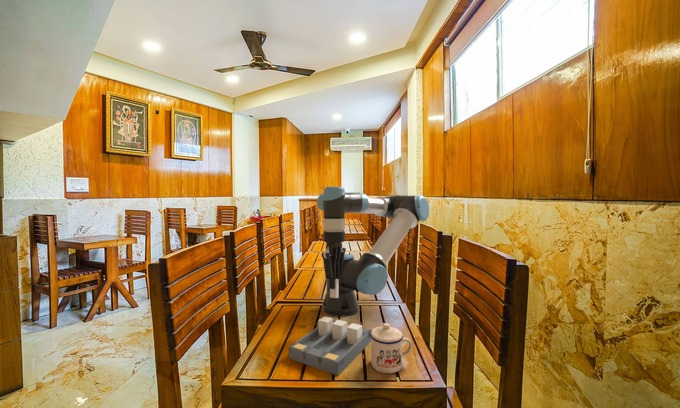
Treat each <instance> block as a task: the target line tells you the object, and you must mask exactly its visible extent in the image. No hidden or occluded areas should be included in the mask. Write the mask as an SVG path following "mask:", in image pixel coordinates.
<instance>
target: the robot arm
mask: <svg viewBox="0 0 680 408" xmlns="http://www.w3.org/2000/svg"><path fill="white" fill-rule="evenodd" d="M345 190H346V189H345V187H344V186H325V187H324V188H323V192H322V193H321V194H319V195H318V197H317V199H316V205H317V208H318V209H319V210H320V211H321V212H323V230H324V231H323V238H322V239H323V242H324V243H326V246H325V251H324V252H323V251H322V252H321V254H320V255H321V258H322V262H323V268H324V274H325V276H324V277H325V280H326V281H325V282H326V293H325V295H324V299H323V301H322V302H323V303H322V312H323V313H325V314H326V315H329V316H333V317H347V316H352V315H354V314H356V313H358V311H359V303H358V302H359V301H358V300H357V299H358V298H357V296H356V293H355V292H358V293H361V294H363V295H369V296H375V295H378V294H379V293H381V292H382V291H383V290H384V288H385V287H386V286H387V282H388V281H387V280H388V279H389V278H388V277H389V274H388V266H387V265H388V263H389V262H390V261H391V258H393V256H394V254H395V252H396V251H397V249H398V248H399V246H400V245H401V243H402V242H403V240H404V239H405V237H406V236H407V234H408V233H409V231H410V230H411V229H413V228H416V226H417V225H418V224H419V222H425V221H427V220H428V218H429V215H430V204H429V202H428V199H427V198H426V196H424V195H417V194H416V195H389V196H377V197H370V196H369V197H368V195H367V194H366V193H364V192H346V191H345ZM346 213H347V214H352V213H353V214H369V215H370V214H371V215H375V216H377V217H383V218H388V219H391V221H390V222H389V224H388V225H387V227H386V228H385V229H384V230H383V232H382V233H381V235H380V236H379V237H378V239H377V241H376V242H375V244H374V245H373V246H372V248H371V249H370V250H369V252H364V253H362V255H361V256H360V258H359V259H358V260H356V259H355V256H354V254H350V253H346V250H347V249H346V247H343V243H344V242H345V240H346V236H345V234H346V232H345V231H344V230H345V229H346V225H345V224H346V223H345V221H346V220H345V219H346V216H345V215H346Z"/></svg>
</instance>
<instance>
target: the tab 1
mask: <svg viewBox="0 0 680 408" xmlns="http://www.w3.org/2000/svg"><path fill="white" fill-rule="evenodd" d="M333 321H334V318H332V317H328V316H325V315H324V316H322V317H321V318H319V319H318V320H317V322H318V324H317V327H318V335H320V336H324V335H325V334H327V333H328V332H329V331H331V330H332V323H333Z"/></svg>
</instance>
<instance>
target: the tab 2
mask: <svg viewBox="0 0 680 408" xmlns="http://www.w3.org/2000/svg"><path fill="white" fill-rule="evenodd" d="M334 321H335V322H334V323H332V339H335V340H339V339H340V338H341V337H342V336H344V335H345V334H346V333H347V324H348V321H346V320H343V319H342V320H341V319H336V320H334Z"/></svg>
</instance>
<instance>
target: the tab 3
mask: <svg viewBox="0 0 680 408" xmlns="http://www.w3.org/2000/svg"><path fill="white" fill-rule="evenodd" d="M362 328H363V325H362V324H359V323H354V322H351V324H350V325H349V326H348V327H347V343H349V344H352V345H354V344H355V343H356V342H357V341H358V340H359V339H360V338H361V337H362Z"/></svg>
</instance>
